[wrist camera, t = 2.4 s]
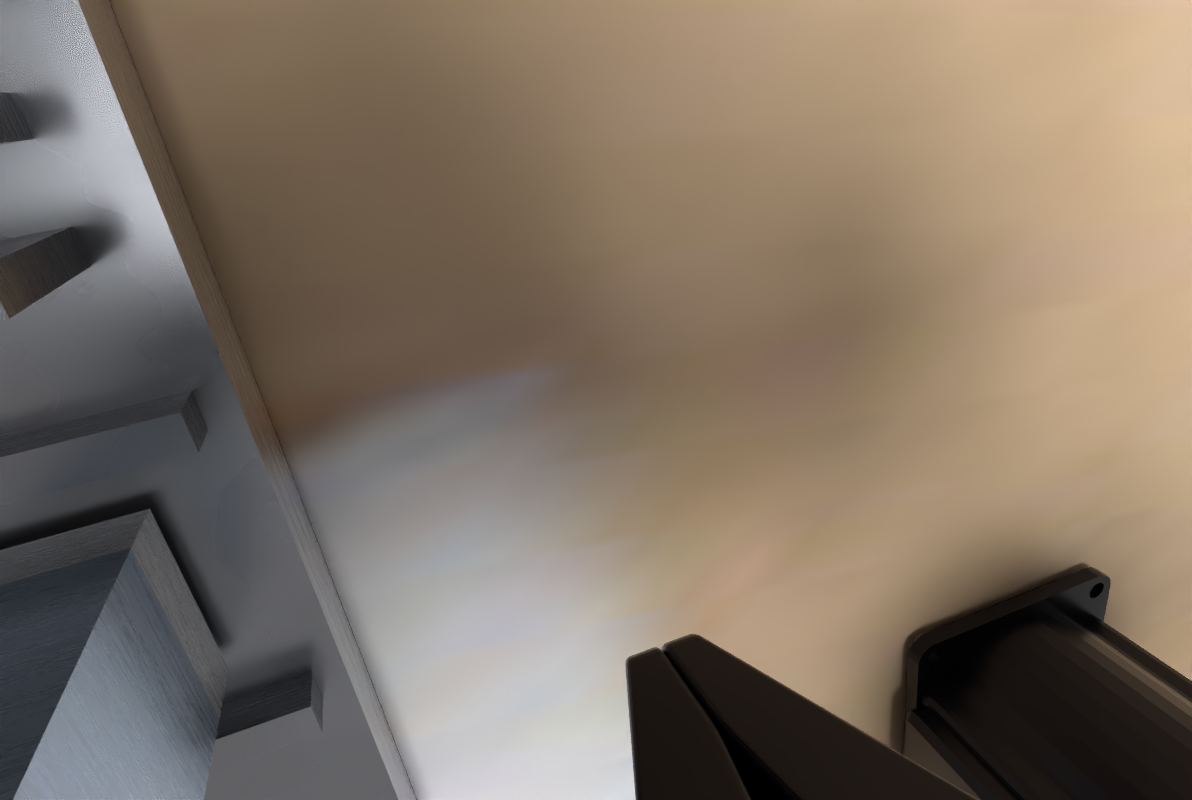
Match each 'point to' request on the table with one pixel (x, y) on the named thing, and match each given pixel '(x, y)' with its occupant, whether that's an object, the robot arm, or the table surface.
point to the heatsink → (161, 409)
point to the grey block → (104, 669)
